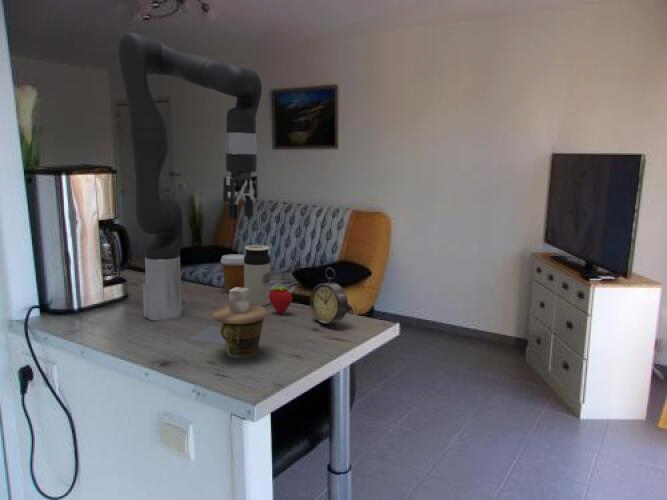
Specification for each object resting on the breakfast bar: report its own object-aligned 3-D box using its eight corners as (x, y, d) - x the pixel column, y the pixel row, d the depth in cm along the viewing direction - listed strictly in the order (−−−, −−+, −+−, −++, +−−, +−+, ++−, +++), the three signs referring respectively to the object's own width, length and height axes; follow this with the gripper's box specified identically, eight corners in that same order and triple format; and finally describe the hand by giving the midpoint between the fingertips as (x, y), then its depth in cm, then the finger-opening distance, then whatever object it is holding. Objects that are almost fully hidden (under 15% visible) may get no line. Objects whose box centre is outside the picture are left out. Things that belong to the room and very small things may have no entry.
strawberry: (282, 319, 143) (282, 285, 141) (264, 314, 148) (264, 280, 146) (296, 315, 147) (297, 282, 146) (278, 309, 152) (279, 277, 150)
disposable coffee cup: (236, 296, 165) (235, 260, 163) (215, 291, 170) (214, 256, 168) (255, 290, 173) (255, 256, 171) (234, 286, 178) (234, 252, 176)
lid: (201, 320, 110) (201, 293, 109) (227, 305, 121) (227, 281, 120) (252, 326, 107) (252, 299, 105) (274, 310, 118) (274, 285, 117)
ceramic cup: (235, 344, 123) (235, 304, 122) (271, 351, 120) (271, 310, 118) (202, 363, 112) (202, 319, 110) (241, 371, 108) (241, 326, 106)
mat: (187, 342, 124) (187, 339, 124) (210, 328, 134) (210, 326, 134) (228, 347, 121) (228, 345, 121) (248, 333, 131) (248, 330, 131)
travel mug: (238, 303, 157) (238, 246, 154) (258, 298, 163) (258, 243, 160) (255, 308, 152) (255, 250, 149) (275, 303, 158) (275, 247, 155)
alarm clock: (308, 322, 141) (309, 265, 138) (321, 318, 145) (323, 263, 142) (337, 332, 134) (338, 272, 131) (350, 327, 138) (352, 269, 135)
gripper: (240, 152, 132) (240, 214, 135) (213, 151, 118) (213, 220, 121) (267, 153, 130) (266, 216, 133) (242, 152, 116) (242, 222, 119)
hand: (241, 218), depth 127 cm, fingers open, 8 cm apart
